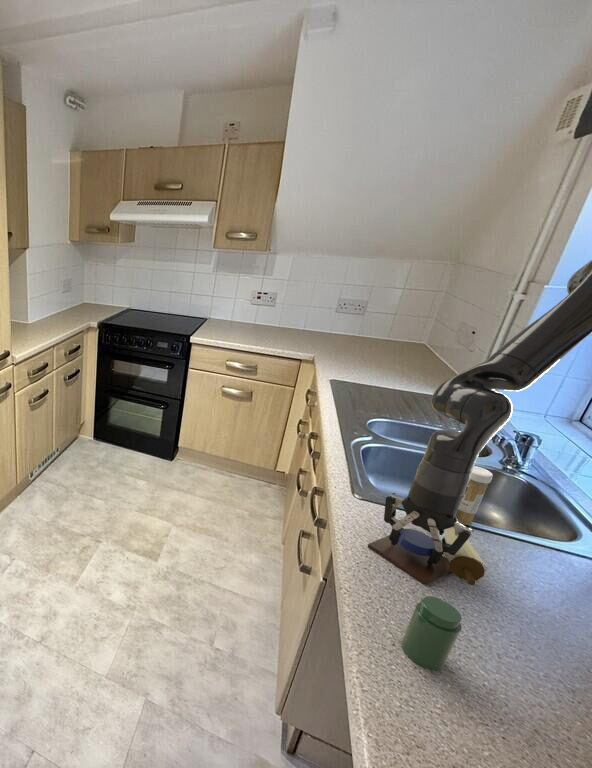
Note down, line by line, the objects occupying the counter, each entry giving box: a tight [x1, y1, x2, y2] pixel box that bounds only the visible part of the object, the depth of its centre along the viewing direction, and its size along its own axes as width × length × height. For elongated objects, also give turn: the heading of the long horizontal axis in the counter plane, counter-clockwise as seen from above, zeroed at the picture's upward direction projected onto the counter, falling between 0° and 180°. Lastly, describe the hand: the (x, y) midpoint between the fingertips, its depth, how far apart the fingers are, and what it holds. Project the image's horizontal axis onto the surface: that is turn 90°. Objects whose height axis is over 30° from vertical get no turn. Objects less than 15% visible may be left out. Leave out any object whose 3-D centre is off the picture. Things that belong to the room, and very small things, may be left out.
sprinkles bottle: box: [456, 465, 494, 526], centre depth 95 cm, size 5×5×13 cm
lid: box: [398, 528, 435, 556], centre depth 84 cm, size 6×6×2 cm
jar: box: [400, 595, 463, 671], centre depth 64 cm, size 5×5×10 cm
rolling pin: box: [443, 518, 488, 586], centre depth 88 cm, size 32×6×5 cm, turn 151°
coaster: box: [367, 534, 452, 586], centre depth 85 cm, size 11×11×1 cm
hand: (412, 552), depth 85 cm, fingers closed on lid, 5 cm apart
